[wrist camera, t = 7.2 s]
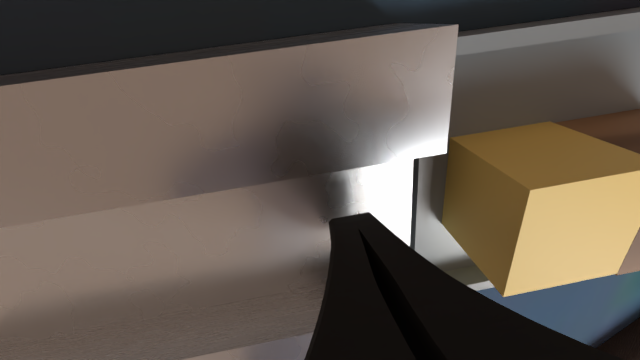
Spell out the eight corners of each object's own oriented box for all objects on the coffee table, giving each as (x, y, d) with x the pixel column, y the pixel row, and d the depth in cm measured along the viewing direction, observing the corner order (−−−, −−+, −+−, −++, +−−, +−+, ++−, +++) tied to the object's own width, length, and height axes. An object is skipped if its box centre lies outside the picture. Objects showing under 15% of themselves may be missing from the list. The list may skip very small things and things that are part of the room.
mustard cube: (527, 208, 14) (616, 273, 10) (441, 223, 13) (503, 297, 10) (549, 121, 12) (669, 164, 8) (449, 137, 11) (530, 190, 8)
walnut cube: (609, 194, 14) (723, 253, 10) (527, 209, 14) (616, 275, 10) (644, 108, 12) (798, 144, 8) (549, 123, 12) (668, 167, 8)
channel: (394, 289, 15) (427, 358, 12) (40, 359, 14) (-26, 457, 11) (397, 23, 10) (458, 24, 6) (-199, 101, 8) (-482, 151, 5)
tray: (620, 237, 16) (649, 255, 15) (400, 280, 15) (412, 303, 14) (732, -6, 11) (791, -9, 10) (405, 39, 10) (425, 41, 9)
